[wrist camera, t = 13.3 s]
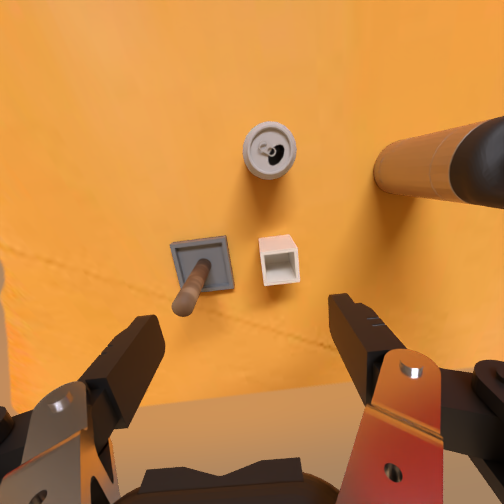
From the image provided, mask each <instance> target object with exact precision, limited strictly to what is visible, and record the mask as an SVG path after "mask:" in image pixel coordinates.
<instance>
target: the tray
mask: <svg viewBox="0 0 504 504" xmlns="http://www.w3.org/2000/svg"><path fill="white" fill-rule="evenodd" d="M170 248H171V252H172V256H173V260H174V264H175V268H176V272H177V276H178V280H179V284H180V287H181V288H182V287H183V285H184V283H185V282H186V280H187V278H188V277H189V275H190V273H191V272H192V270H193V269H194V267H195V265H196V264H197V262H198V261H199V260H200V259H202V258H205V259H208V260H209V261H210V262H211V269H210V271H209V274H208V276H207V278H206V281H205V283H204V285H203V288H202V290H201V292H208V291H217V290H225V289H234V285H235V284H234V279H233V273H232V267H231V261H230V255H229V249H228V244H227V238H226V236H219V237H211V238H203V239H195V240H187V241H179V242H173V243H171V244H170Z"/></svg>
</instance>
